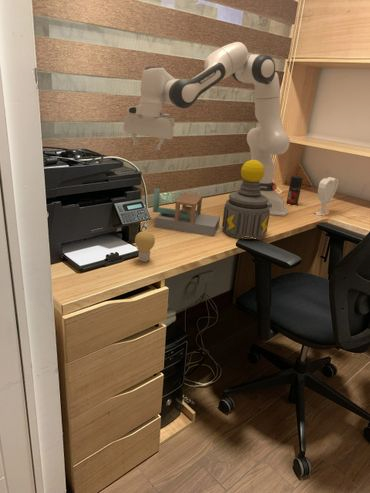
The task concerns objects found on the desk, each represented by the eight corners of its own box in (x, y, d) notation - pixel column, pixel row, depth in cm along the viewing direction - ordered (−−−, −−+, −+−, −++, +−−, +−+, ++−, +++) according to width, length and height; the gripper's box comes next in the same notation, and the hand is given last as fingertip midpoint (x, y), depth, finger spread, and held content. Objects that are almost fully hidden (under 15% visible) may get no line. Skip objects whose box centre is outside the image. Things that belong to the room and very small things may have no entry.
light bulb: (140, 265, 121) (141, 236, 117) (130, 258, 125) (131, 230, 122) (157, 262, 124) (159, 233, 120) (147, 254, 129) (148, 227, 125)
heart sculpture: (320, 217, 187) (328, 181, 180) (310, 214, 190) (318, 179, 184) (332, 211, 198) (341, 177, 191) (323, 209, 201) (331, 175, 194)
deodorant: (299, 204, 206) (304, 177, 200) (294, 206, 201) (299, 178, 196) (289, 202, 209) (294, 175, 203) (284, 203, 205) (289, 176, 199)
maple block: (193, 216, 159) (194, 207, 158) (191, 219, 155) (192, 209, 154) (184, 215, 160) (185, 205, 158) (182, 217, 156) (182, 208, 155)
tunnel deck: (218, 225, 163) (222, 198, 159) (213, 236, 150) (217, 207, 146) (164, 217, 168) (166, 190, 163) (154, 226, 155) (156, 198, 150)
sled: (197, 215, 160) (199, 192, 156) (194, 219, 154) (196, 196, 150) (155, 209, 163) (156, 186, 160) (150, 213, 157) (151, 190, 154)
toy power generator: (275, 235, 158) (288, 162, 146) (248, 244, 145) (260, 166, 134) (239, 222, 170) (249, 154, 158) (211, 230, 157) (220, 157, 146)
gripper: (177, 115, 147) (173, 151, 152) (129, 107, 152) (127, 143, 157) (172, 115, 142) (168, 152, 147) (122, 107, 146) (120, 144, 151)
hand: (146, 147), depth 152 cm, fingers open, 8 cm apart
